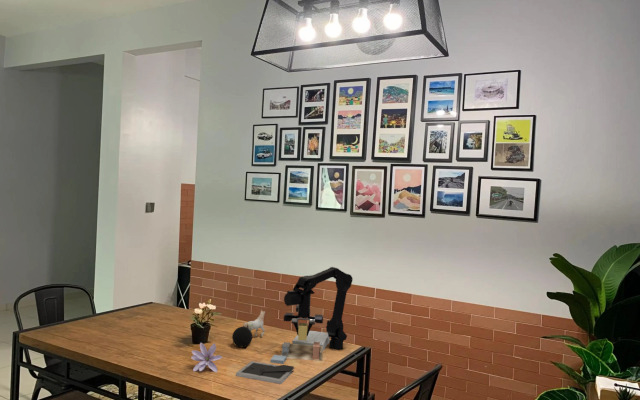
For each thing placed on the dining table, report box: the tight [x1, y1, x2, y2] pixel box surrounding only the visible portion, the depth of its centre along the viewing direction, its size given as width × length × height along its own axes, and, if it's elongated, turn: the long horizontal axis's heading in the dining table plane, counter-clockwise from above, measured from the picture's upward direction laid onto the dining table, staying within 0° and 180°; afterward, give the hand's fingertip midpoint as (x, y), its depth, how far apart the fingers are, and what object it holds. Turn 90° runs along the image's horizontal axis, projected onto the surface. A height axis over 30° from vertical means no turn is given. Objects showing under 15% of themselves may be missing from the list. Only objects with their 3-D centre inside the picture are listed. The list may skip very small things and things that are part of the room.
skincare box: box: [291, 330, 331, 352], centre depth 252 cm, size 21×5×16 cm
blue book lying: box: [270, 354, 287, 365], centre depth 225 cm, size 6×6×3 cm
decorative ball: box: [231, 326, 253, 348], centre depth 246 cm, size 10×10×10 cm
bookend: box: [281, 341, 291, 357], centre depth 234 cm, size 3×6×5 cm, turn 178°
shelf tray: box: [280, 342, 324, 362], centre depth 234 cm, size 20×10×5 cm, turn 88°
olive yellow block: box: [298, 322, 309, 340], centre depth 233 cm, size 4×6×6 cm, turn 178°
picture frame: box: [235, 360, 295, 385], centre depth 212 cm, size 16×3×21 cm
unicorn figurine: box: [242, 308, 266, 339], centre depth 261 cm, size 7×20×13 cm, turn 153°
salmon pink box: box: [312, 342, 320, 359], centre depth 233 cm, size 3×7×6 cm, turn 178°
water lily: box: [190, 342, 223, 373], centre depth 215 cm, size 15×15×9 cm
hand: (302, 335), depth 233 cm, fingers closed on olive yellow block, 4 cm apart
